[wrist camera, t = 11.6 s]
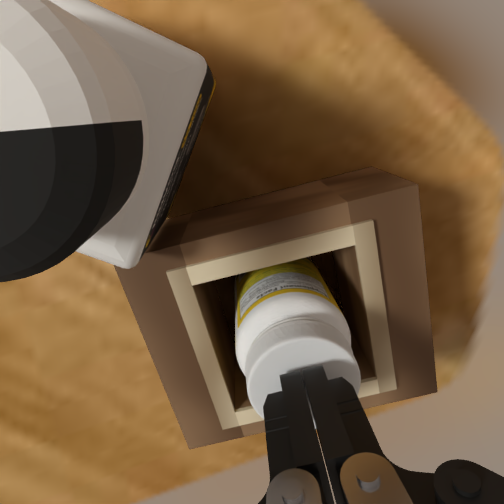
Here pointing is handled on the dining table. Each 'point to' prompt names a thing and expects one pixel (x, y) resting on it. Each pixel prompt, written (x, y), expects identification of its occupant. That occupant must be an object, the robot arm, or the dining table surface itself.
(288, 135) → the dining table surface
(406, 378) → the socket block
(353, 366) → the supplement bottle
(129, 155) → the medicine bottle
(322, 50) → the dining table surface
